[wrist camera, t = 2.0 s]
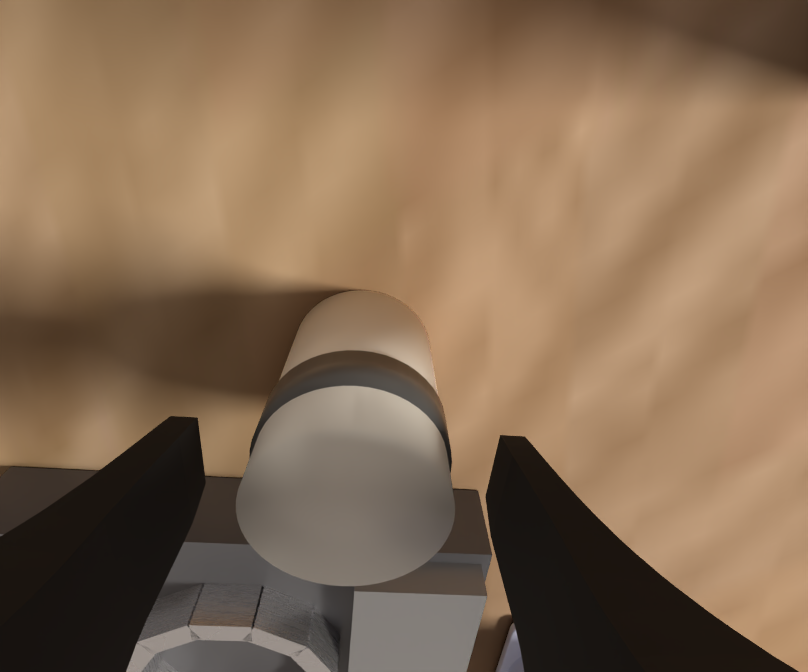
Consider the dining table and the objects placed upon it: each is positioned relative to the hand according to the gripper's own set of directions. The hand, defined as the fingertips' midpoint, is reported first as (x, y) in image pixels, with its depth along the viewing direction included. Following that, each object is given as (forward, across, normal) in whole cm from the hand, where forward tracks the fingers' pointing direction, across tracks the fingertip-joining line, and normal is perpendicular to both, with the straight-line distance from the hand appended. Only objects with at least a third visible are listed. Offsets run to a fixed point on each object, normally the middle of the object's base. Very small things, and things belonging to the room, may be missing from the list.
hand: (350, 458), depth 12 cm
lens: (+5, 0, 0) cm, 5 cm away
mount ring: (+2, +4, +12) cm, 13 cm away
